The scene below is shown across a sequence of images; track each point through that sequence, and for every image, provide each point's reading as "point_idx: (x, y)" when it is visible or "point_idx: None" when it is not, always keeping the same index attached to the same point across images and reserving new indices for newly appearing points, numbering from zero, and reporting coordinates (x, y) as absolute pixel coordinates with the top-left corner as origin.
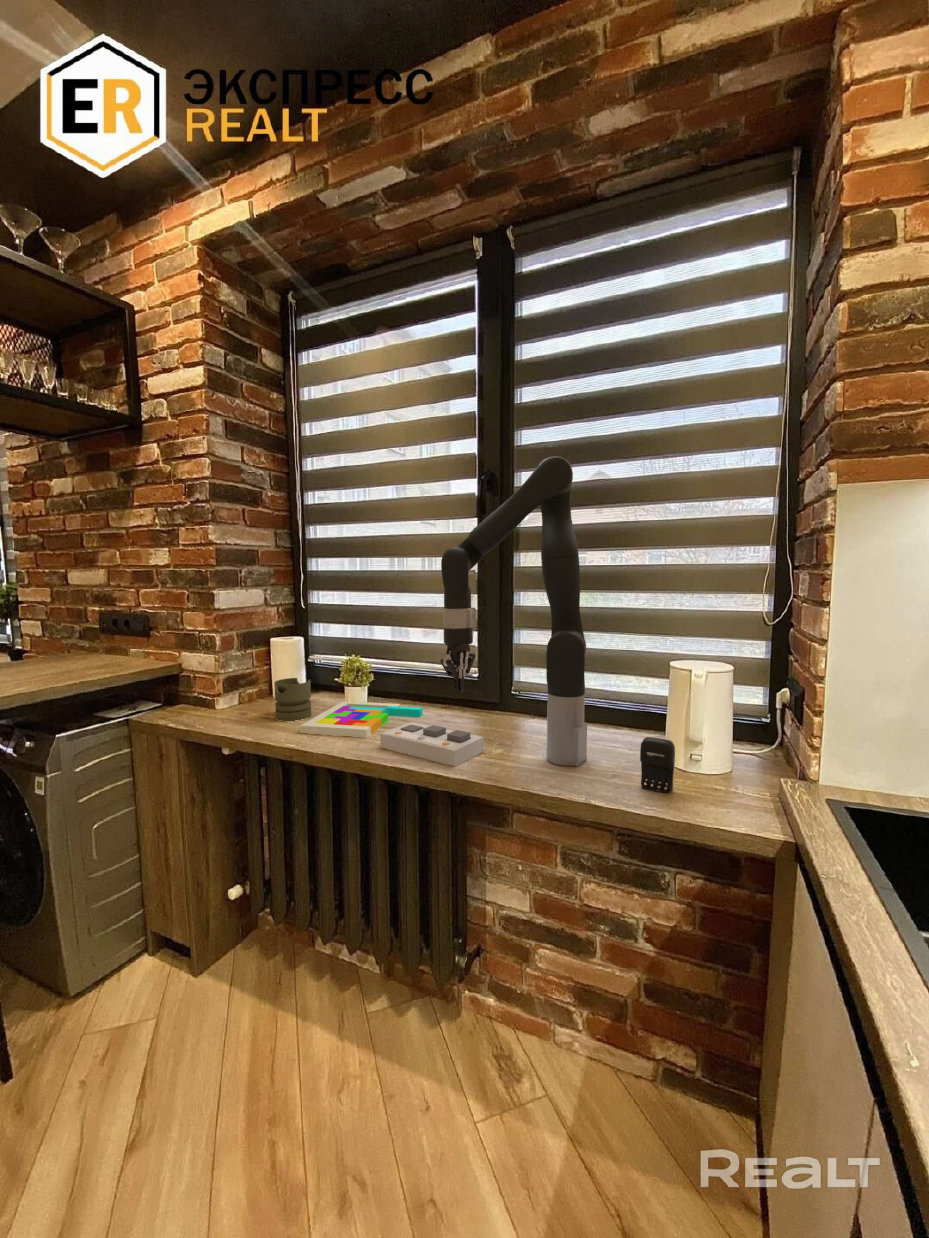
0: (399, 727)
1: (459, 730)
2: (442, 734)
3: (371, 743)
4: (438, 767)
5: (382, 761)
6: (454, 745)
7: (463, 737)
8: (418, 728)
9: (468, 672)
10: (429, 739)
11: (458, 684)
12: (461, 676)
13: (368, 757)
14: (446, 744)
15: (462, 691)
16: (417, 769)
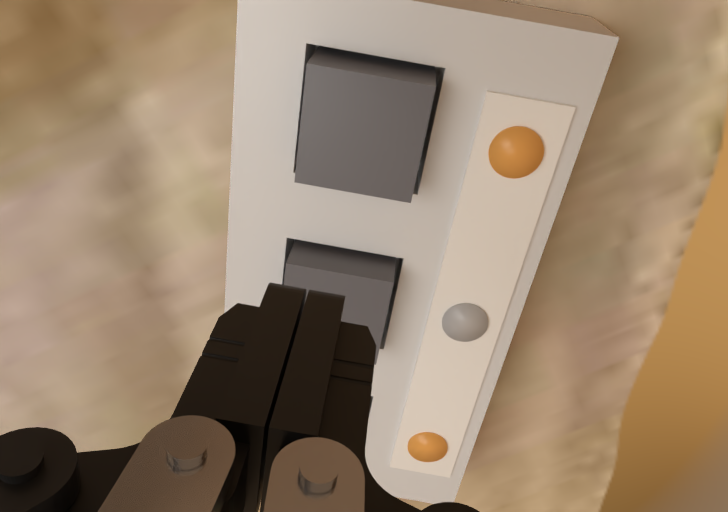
0: None
1: (297, 159)
2: (329, 251)
3: None
4: (629, 105)
5: (615, 376)
6: (507, 91)
7: (400, 76)
8: None
9: (41, 445)
10: (464, 276)
11: (357, 387)
12: (308, 459)
13: (583, 440)
14: (533, 141)
15: (296, 287)
16: (686, 194)
